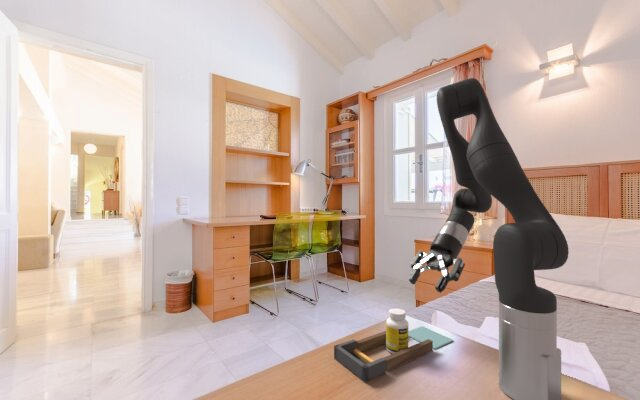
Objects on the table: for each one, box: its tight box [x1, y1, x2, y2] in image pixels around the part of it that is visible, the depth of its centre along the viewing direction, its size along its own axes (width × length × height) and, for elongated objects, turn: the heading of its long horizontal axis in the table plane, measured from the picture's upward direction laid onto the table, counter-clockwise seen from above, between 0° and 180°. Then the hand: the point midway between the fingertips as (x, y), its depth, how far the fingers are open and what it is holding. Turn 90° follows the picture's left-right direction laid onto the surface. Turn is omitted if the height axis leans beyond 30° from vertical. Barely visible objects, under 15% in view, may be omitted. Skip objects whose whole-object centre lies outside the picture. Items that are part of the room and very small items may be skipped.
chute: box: [356, 330, 434, 373], centre depth 73 cm, size 10×16×2 cm, turn 123°
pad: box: [408, 325, 454, 351], centre depth 80 cm, size 10×8×1 cm
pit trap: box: [333, 338, 387, 383], centre depth 67 cm, size 11×6×3 cm, turn 33°
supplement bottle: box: [385, 308, 409, 354], centre depth 73 cm, size 5×5×10 cm
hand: (424, 286), depth 79 cm, fingers open, 8 cm apart
